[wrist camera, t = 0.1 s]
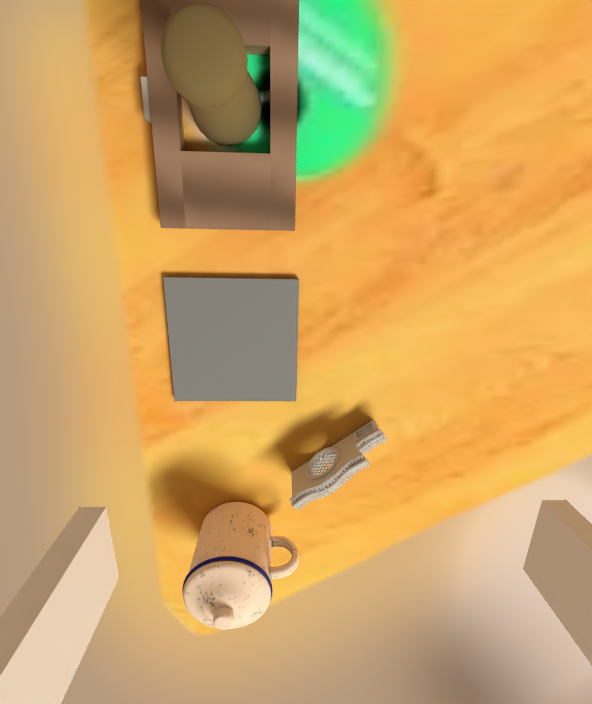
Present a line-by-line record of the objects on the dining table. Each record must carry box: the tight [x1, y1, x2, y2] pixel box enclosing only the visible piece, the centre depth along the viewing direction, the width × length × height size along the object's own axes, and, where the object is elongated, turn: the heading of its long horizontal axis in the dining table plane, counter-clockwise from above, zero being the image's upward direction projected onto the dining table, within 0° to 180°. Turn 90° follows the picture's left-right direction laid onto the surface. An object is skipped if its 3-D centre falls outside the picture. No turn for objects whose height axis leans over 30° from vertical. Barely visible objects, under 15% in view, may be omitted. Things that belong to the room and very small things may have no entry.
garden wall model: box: [289, 420, 387, 510], centre depth 40 cm, size 12×2×6 cm, turn 126°
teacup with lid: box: [183, 502, 299, 630], centre depth 40 cm, size 12×9×12 cm
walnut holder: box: [140, 0, 299, 231], centre depth 31 cm, size 20×13×2 cm, turn 179°
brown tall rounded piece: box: [161, 1, 262, 146], centre depth 26 cm, size 6×6×11 cm
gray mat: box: [163, 277, 299, 401], centre depth 38 cm, size 13×13×1 cm
